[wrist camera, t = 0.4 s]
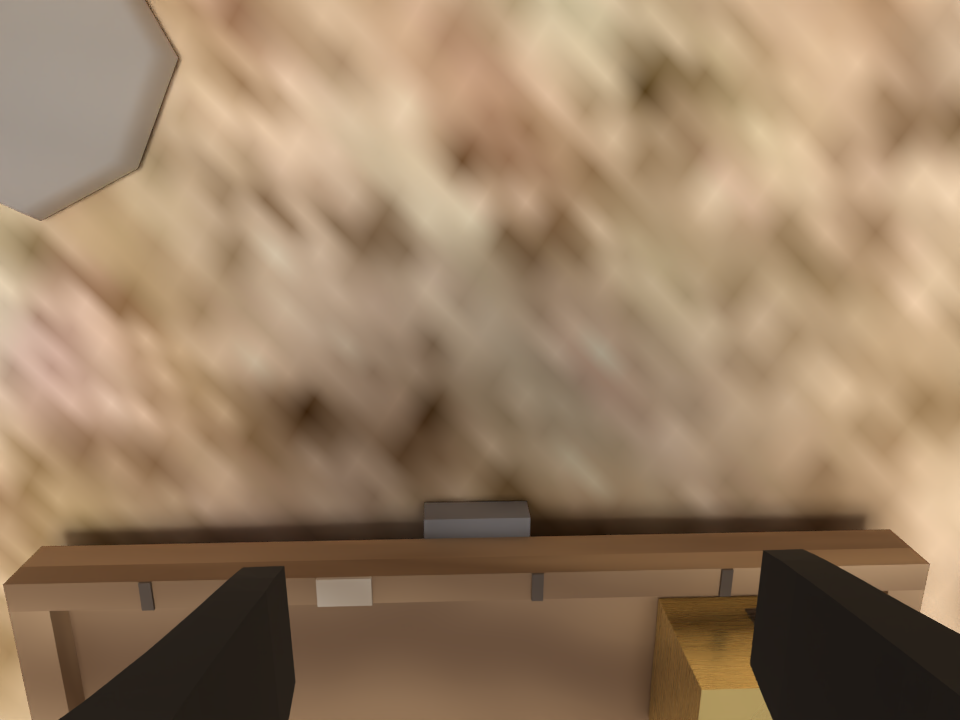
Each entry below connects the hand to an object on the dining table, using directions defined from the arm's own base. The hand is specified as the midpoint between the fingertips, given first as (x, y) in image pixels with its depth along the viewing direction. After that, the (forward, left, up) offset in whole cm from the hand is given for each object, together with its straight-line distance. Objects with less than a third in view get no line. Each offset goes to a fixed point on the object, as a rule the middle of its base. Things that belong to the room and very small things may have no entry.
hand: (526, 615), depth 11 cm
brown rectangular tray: (-7, 0, -10) cm, 12 cm away
